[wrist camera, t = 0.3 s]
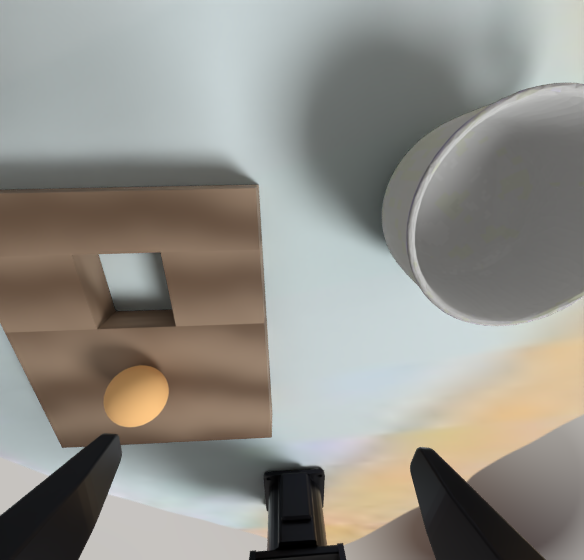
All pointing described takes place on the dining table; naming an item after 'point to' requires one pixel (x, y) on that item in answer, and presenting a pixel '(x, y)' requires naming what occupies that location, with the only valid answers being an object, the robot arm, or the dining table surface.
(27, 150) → the dining table surface
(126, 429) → the pocket board
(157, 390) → the ball
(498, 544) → the robot arm
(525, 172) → the teacup
